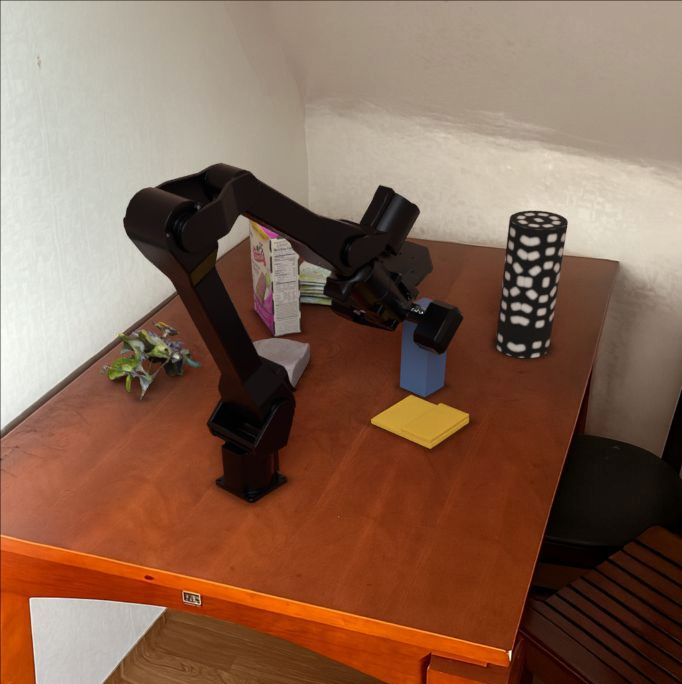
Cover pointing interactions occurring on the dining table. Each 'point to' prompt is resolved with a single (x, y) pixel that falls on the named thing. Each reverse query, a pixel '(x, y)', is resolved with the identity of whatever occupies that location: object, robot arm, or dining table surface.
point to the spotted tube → (530, 283)
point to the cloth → (421, 421)
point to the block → (420, 362)
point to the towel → (313, 284)
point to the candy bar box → (275, 281)
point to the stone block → (286, 355)
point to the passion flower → (150, 356)
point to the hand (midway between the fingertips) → (419, 337)
